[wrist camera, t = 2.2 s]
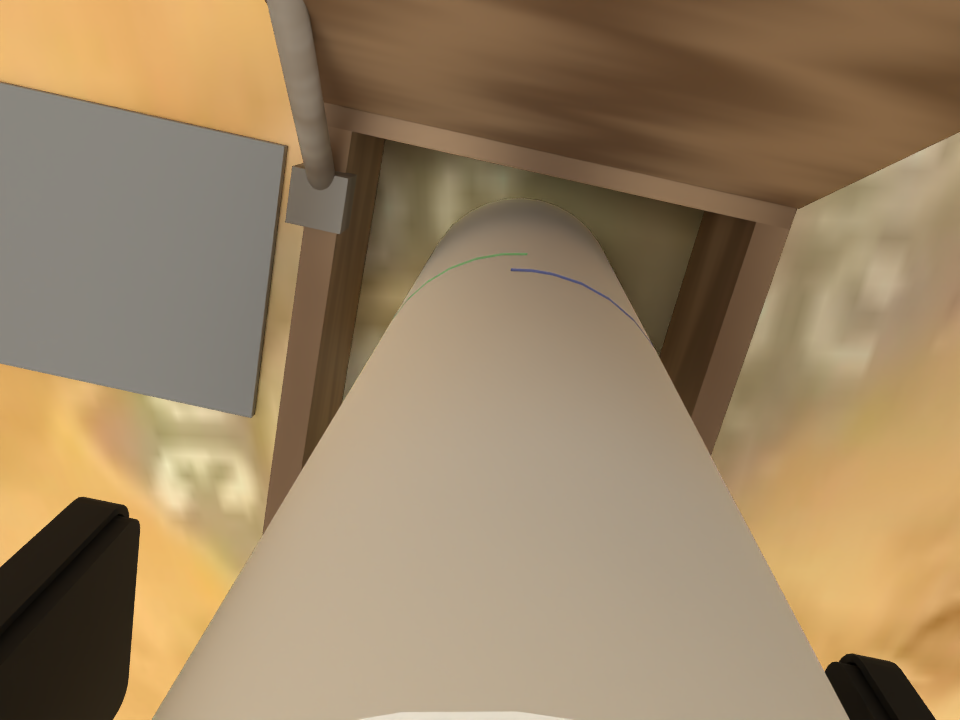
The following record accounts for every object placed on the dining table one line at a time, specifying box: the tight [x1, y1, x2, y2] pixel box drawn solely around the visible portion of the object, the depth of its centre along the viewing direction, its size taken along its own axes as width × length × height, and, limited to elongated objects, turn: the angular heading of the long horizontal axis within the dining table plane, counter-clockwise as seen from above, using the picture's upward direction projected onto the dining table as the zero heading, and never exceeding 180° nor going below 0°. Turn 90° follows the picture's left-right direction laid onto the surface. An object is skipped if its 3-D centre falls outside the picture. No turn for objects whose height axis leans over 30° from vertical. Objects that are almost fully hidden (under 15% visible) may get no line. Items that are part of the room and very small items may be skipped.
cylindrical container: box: [152, 198, 850, 720], centre depth 17 cm, size 7×7×25 cm
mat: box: [0, 82, 288, 418], centre depth 29 cm, size 11×11×1 cm
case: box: [262, 0, 960, 536], centre depth 19 cm, size 14×22×21 cm, turn 168°
